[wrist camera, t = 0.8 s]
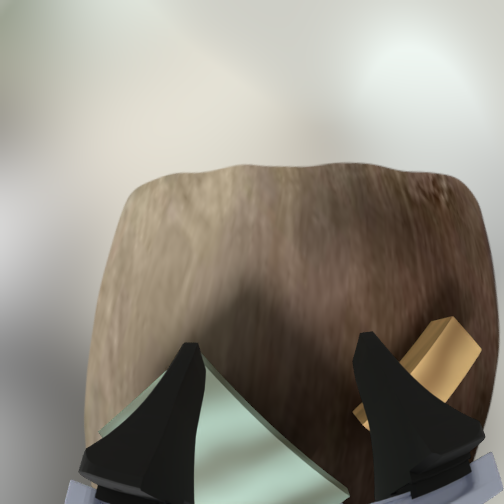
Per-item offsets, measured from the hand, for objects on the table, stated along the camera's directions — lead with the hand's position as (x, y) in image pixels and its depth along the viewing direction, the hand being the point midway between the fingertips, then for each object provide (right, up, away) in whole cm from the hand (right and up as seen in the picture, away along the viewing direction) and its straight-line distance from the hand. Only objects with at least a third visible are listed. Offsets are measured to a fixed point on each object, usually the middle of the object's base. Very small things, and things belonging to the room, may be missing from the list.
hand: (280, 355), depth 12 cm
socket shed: (-3, -15, +11) cm, 19 cm away
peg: (+14, -8, +11) cm, 20 cm away
